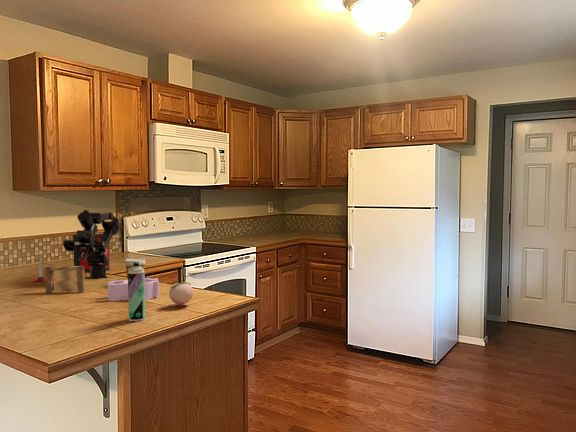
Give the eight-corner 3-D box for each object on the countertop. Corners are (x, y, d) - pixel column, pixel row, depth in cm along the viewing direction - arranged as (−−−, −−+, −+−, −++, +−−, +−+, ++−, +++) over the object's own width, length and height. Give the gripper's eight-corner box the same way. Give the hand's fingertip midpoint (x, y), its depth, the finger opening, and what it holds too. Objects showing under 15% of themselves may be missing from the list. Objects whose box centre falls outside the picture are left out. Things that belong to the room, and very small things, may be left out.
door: (51, 291, 202) (51, 270, 202) (53, 290, 204) (53, 269, 204) (77, 291, 203) (77, 269, 202) (79, 290, 205) (79, 268, 205)
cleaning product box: (109, 270, 259) (108, 234, 258) (97, 273, 251) (96, 235, 249) (86, 268, 265) (85, 233, 264) (74, 270, 257) (73, 234, 256)
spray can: (130, 317, 164) (129, 261, 163) (146, 317, 164) (145, 260, 163) (126, 321, 159) (125, 263, 157) (143, 321, 159) (142, 263, 158)
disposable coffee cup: (150, 283, 222) (150, 258, 221) (136, 287, 213) (135, 261, 213) (134, 282, 226) (134, 257, 225) (120, 285, 217) (119, 260, 217)
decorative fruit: (181, 310, 174) (180, 283, 173) (165, 307, 178) (165, 281, 178) (198, 304, 182) (198, 279, 181) (183, 302, 186) (182, 277, 186)
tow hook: (44, 279, 235) (31, 282, 226) (44, 253, 235) (31, 255, 226) (59, 279, 234) (47, 282, 225) (59, 254, 234) (47, 256, 225)
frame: (45, 293, 202) (44, 267, 201) (47, 292, 204) (47, 266, 203) (83, 292, 202) (82, 266, 202) (84, 291, 204) (84, 266, 204)
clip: (107, 303, 185) (107, 286, 185) (108, 296, 197) (108, 280, 196) (159, 299, 192) (159, 282, 191) (157, 293, 203) (157, 277, 203)
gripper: (64, 222, 219) (54, 250, 209) (104, 224, 220) (96, 251, 210) (70, 236, 227) (61, 263, 217) (110, 238, 229) (102, 265, 219)
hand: (80, 260), depth 216 cm, fingers closed
